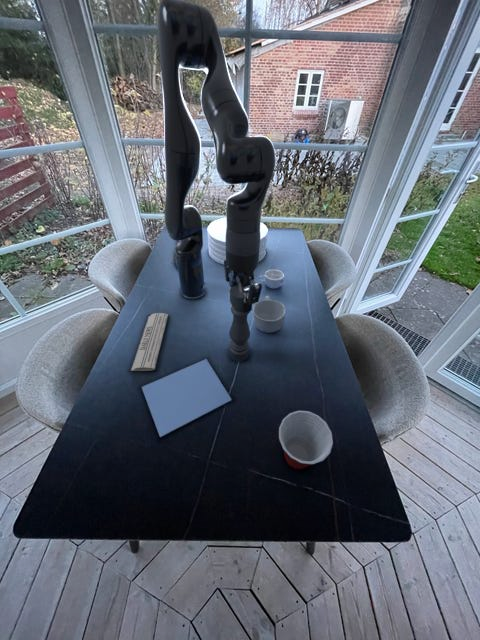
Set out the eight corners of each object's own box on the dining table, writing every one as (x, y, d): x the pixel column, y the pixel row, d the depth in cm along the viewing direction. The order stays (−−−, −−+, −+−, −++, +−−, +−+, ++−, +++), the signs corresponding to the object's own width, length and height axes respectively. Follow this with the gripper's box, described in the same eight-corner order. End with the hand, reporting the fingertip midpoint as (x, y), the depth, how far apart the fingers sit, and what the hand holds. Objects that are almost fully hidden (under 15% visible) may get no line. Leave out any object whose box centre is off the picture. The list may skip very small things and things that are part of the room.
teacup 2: (281, 339, 89) (284, 322, 83) (249, 334, 90) (250, 317, 84) (284, 312, 98) (287, 295, 93) (255, 308, 100) (257, 291, 94)
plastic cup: (269, 434, 66) (274, 411, 57) (311, 431, 66) (323, 407, 58) (277, 484, 58) (285, 465, 49) (325, 480, 59) (341, 460, 50)
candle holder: (251, 349, 85) (256, 286, 68) (245, 363, 81) (249, 301, 64) (233, 344, 87) (233, 281, 69) (226, 358, 82) (225, 295, 65)
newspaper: (155, 370, 78) (153, 367, 77) (130, 371, 78) (129, 367, 77) (168, 316, 95) (167, 312, 94) (148, 316, 95) (147, 312, 94)
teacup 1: (282, 280, 113) (284, 270, 109) (282, 291, 108) (284, 280, 104) (258, 279, 114) (259, 268, 110) (258, 289, 108) (259, 278, 104)
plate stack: (215, 235, 142) (214, 214, 134) (267, 240, 139) (269, 218, 131) (202, 263, 122) (200, 240, 114) (263, 269, 119) (265, 246, 111)
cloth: (141, 387, 74) (141, 387, 74) (206, 359, 82) (206, 358, 82) (160, 437, 64) (159, 437, 64) (231, 400, 72) (231, 399, 72)
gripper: (275, 256, 55) (268, 316, 67) (240, 229, 64) (239, 286, 76) (245, 266, 52) (242, 326, 64) (212, 236, 61) (215, 294, 73)
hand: (240, 304), depth 70 cm, fingers closed on candle holder, 5 cm apart
